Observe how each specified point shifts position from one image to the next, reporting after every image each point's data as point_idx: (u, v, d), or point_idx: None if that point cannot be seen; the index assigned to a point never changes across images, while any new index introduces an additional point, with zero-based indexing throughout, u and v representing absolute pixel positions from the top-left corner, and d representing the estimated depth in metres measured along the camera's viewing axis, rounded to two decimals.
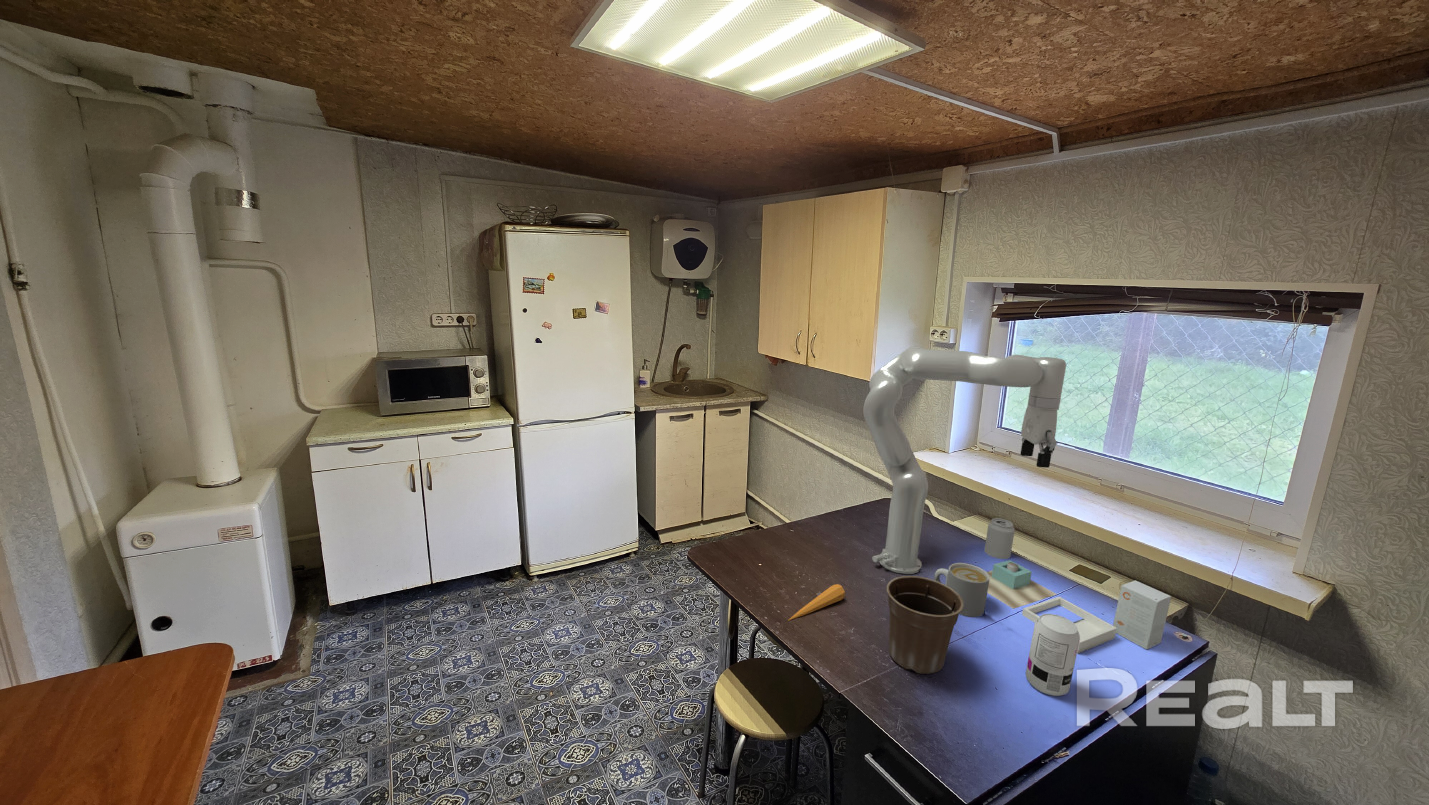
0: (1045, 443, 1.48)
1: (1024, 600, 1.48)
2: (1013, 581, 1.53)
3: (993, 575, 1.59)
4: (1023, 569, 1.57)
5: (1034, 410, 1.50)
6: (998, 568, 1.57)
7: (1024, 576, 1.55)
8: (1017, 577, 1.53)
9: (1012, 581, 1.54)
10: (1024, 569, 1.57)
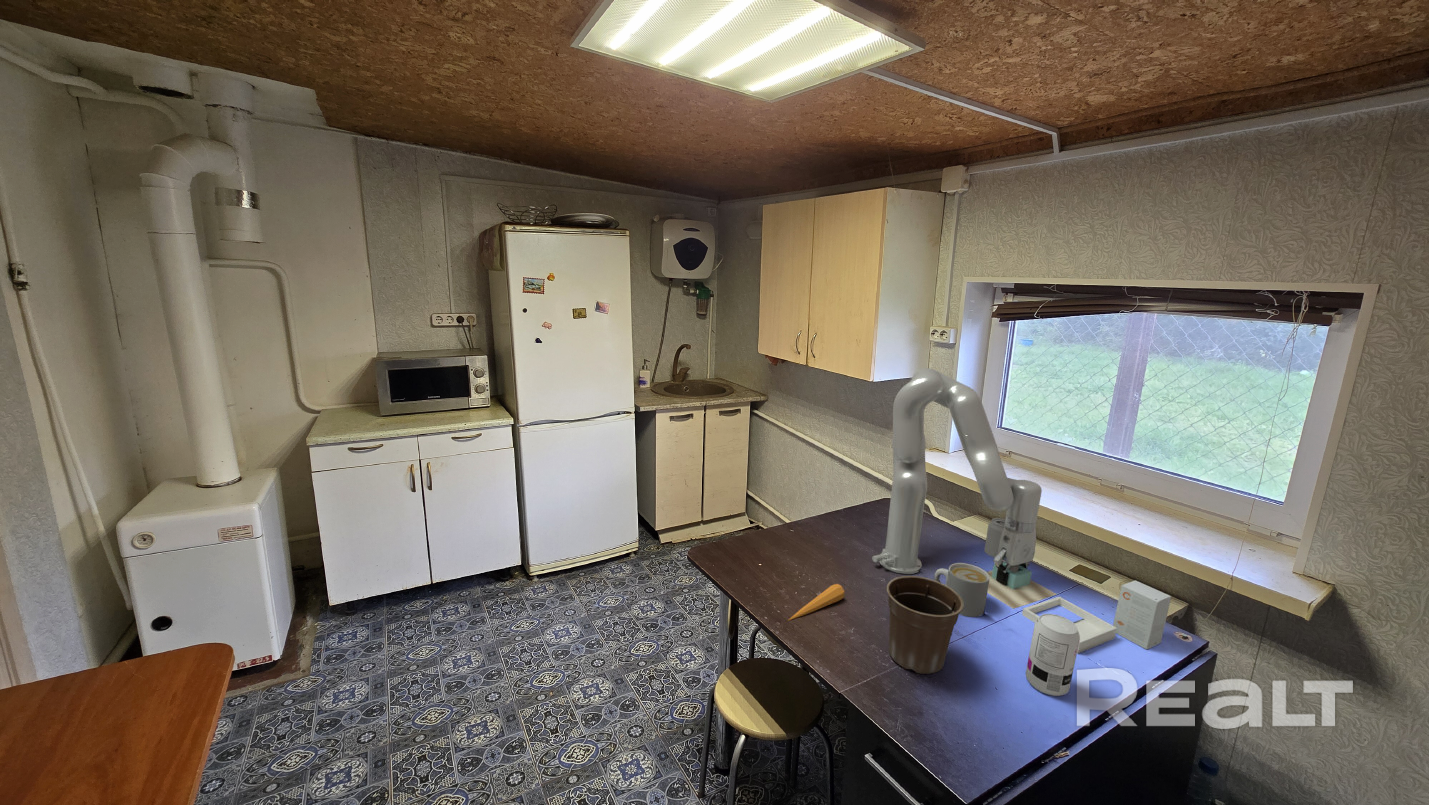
0: None
1: (1024, 600, 1.48)
2: (1013, 581, 1.53)
3: (993, 575, 1.59)
4: (1023, 569, 1.57)
5: (1030, 533, 1.53)
6: None
7: (1024, 576, 1.55)
8: (1017, 577, 1.53)
9: (1012, 581, 1.54)
10: (1024, 569, 1.57)
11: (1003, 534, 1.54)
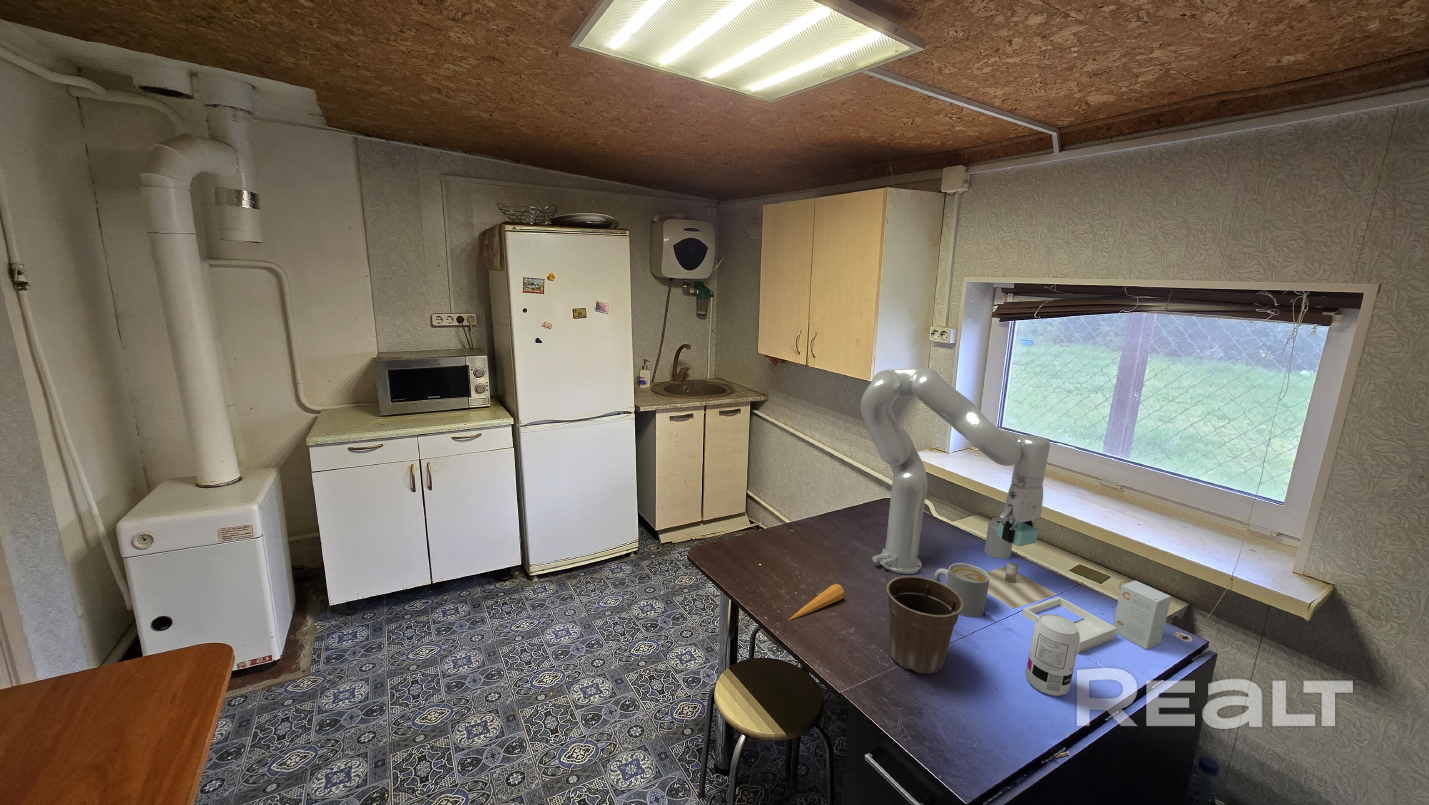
0: None
1: (1024, 600, 1.48)
2: (1019, 538, 1.50)
3: (999, 534, 1.56)
4: (1029, 527, 1.54)
5: (1037, 490, 1.50)
6: None
7: (1030, 534, 1.52)
8: (1023, 534, 1.50)
9: (1018, 539, 1.51)
10: (1030, 527, 1.54)
11: (1010, 490, 1.51)
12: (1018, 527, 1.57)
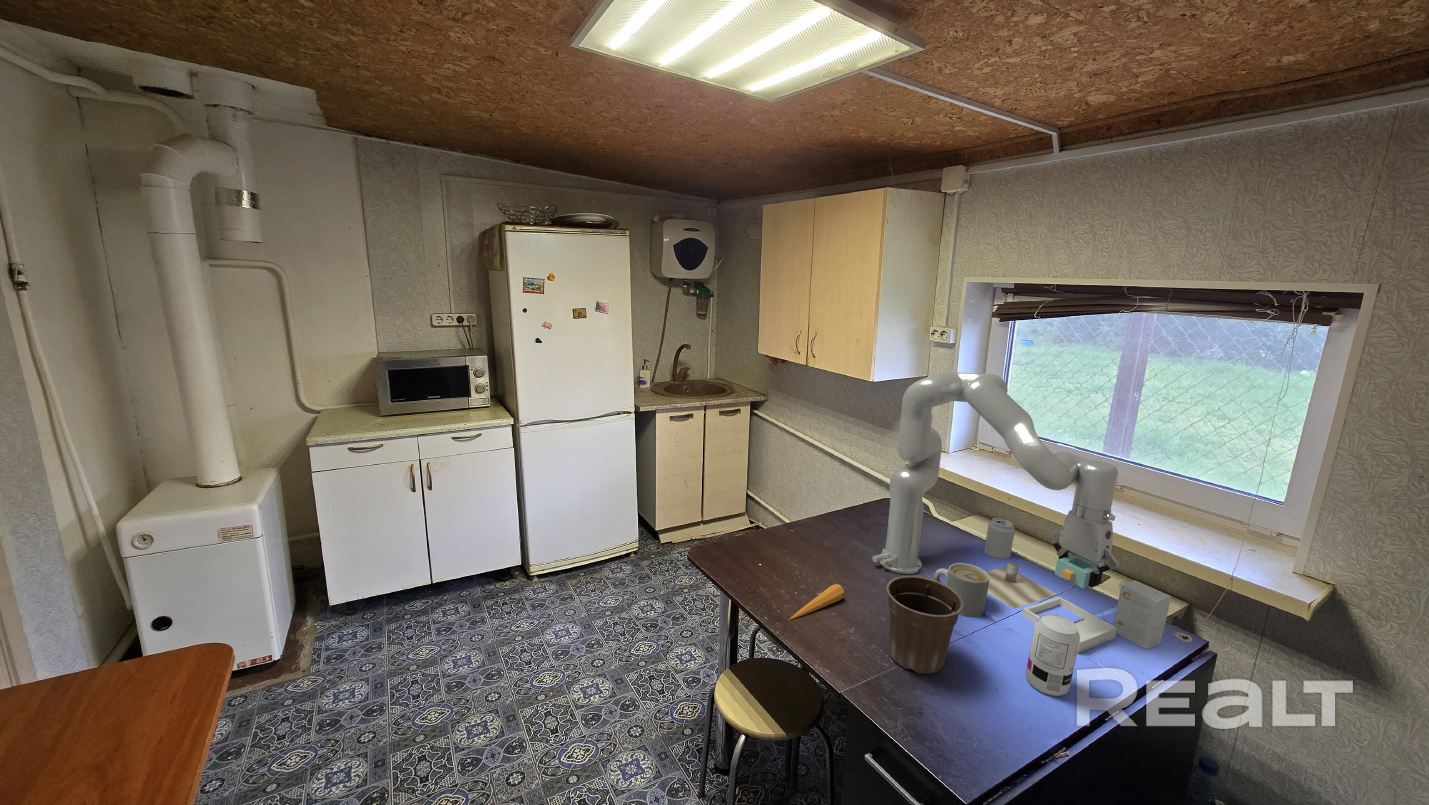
0: None
1: (1024, 600, 1.48)
2: None
3: (1084, 585, 1.31)
4: (1075, 558, 1.37)
5: None
6: (1089, 573, 1.31)
7: None
8: None
9: None
10: (1074, 557, 1.38)
11: (1104, 532, 1.28)
12: None
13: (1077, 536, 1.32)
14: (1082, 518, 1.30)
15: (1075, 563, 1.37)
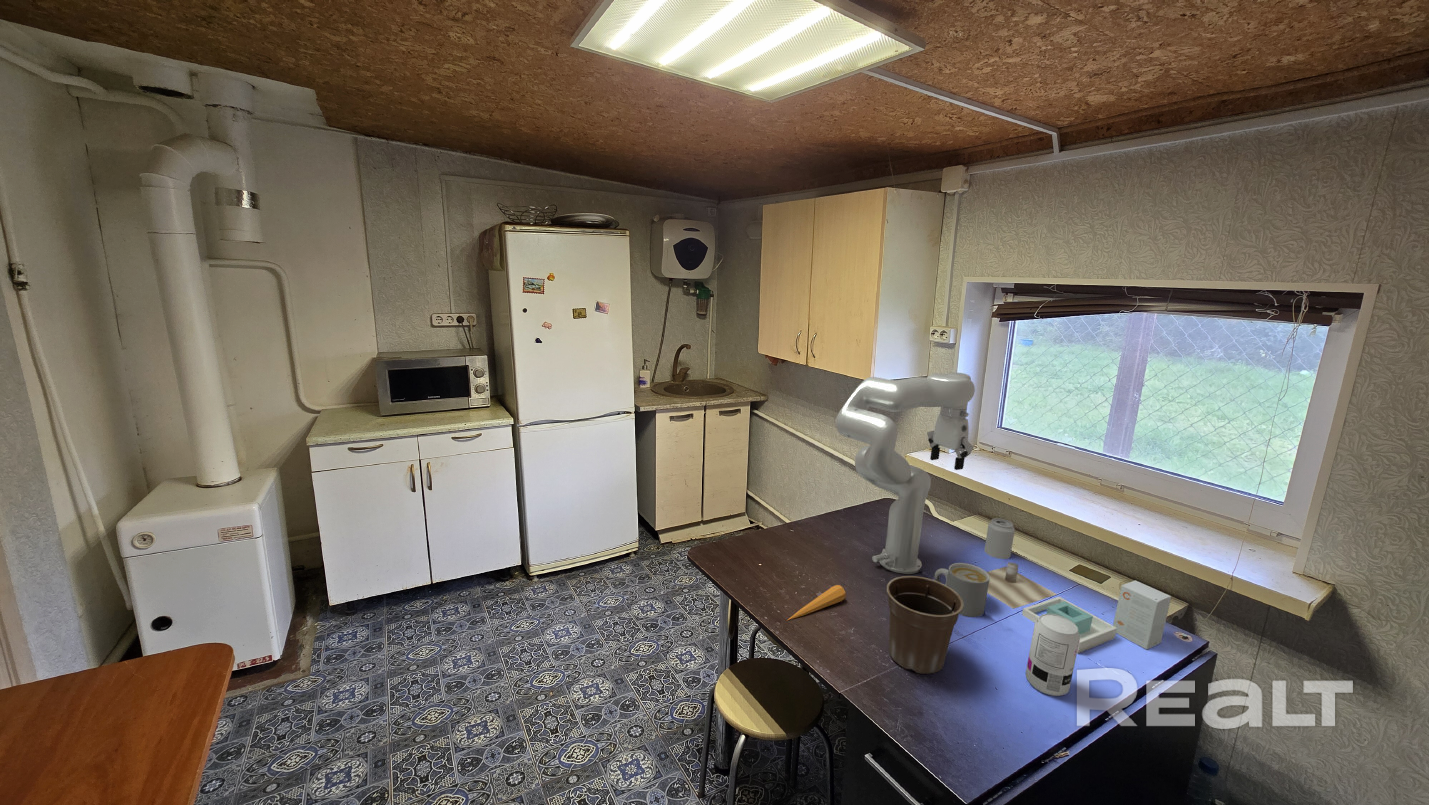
0: None
1: (1024, 600, 1.48)
2: (1090, 622, 1.36)
3: None
4: (1065, 605, 1.40)
5: None
6: (1079, 622, 1.34)
7: None
8: None
9: (1089, 623, 1.36)
10: (1064, 604, 1.41)
11: (960, 426, 1.66)
12: None
13: (943, 431, 1.71)
14: (945, 416, 1.68)
15: (1065, 610, 1.40)
